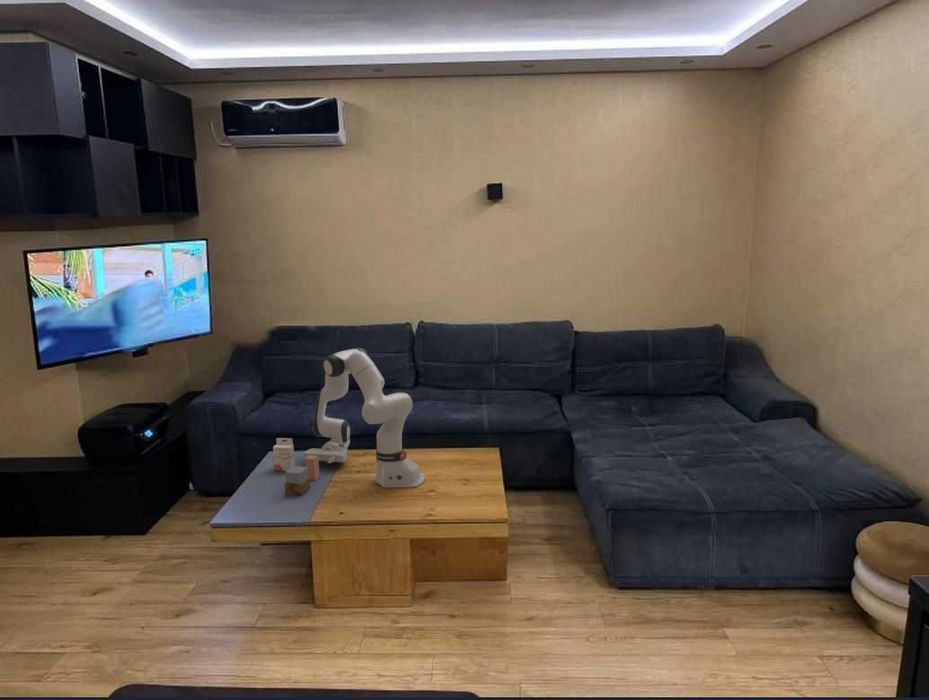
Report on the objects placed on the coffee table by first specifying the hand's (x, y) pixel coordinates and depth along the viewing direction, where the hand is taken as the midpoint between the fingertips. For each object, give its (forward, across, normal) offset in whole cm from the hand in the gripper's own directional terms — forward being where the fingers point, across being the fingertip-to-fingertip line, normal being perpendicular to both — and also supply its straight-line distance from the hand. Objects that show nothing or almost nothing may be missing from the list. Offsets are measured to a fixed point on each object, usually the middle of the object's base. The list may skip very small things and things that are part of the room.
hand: (318, 461), depth 310 cm
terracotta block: (+7, 0, +6) cm, 9 cm away
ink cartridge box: (-1, -18, +6) cm, 19 cm away
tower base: (+22, 0, +6) cm, 23 cm away
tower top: (+22, 0, +1) cm, 22 cm away
